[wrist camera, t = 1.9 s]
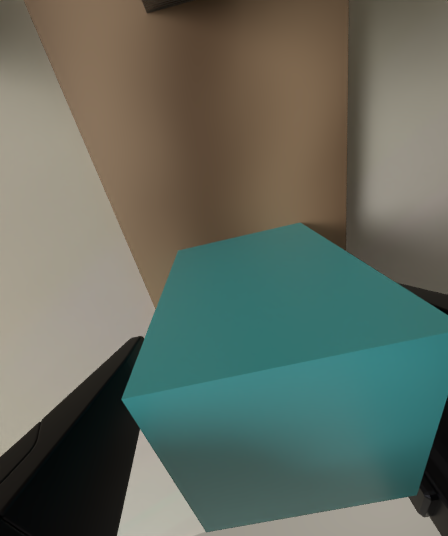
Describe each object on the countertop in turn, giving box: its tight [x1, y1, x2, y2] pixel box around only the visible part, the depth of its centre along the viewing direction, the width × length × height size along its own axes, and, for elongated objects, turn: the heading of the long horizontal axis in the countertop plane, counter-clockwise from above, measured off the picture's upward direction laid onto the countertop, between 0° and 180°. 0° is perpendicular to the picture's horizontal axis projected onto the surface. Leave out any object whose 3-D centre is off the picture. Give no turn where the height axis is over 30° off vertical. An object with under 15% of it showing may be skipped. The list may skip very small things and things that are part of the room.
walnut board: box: [24, 0, 349, 309], centre depth 8 cm, size 9×20×1 cm, turn 13°
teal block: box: [121, 223, 448, 532], centre depth 7 cm, size 5×5×7 cm
